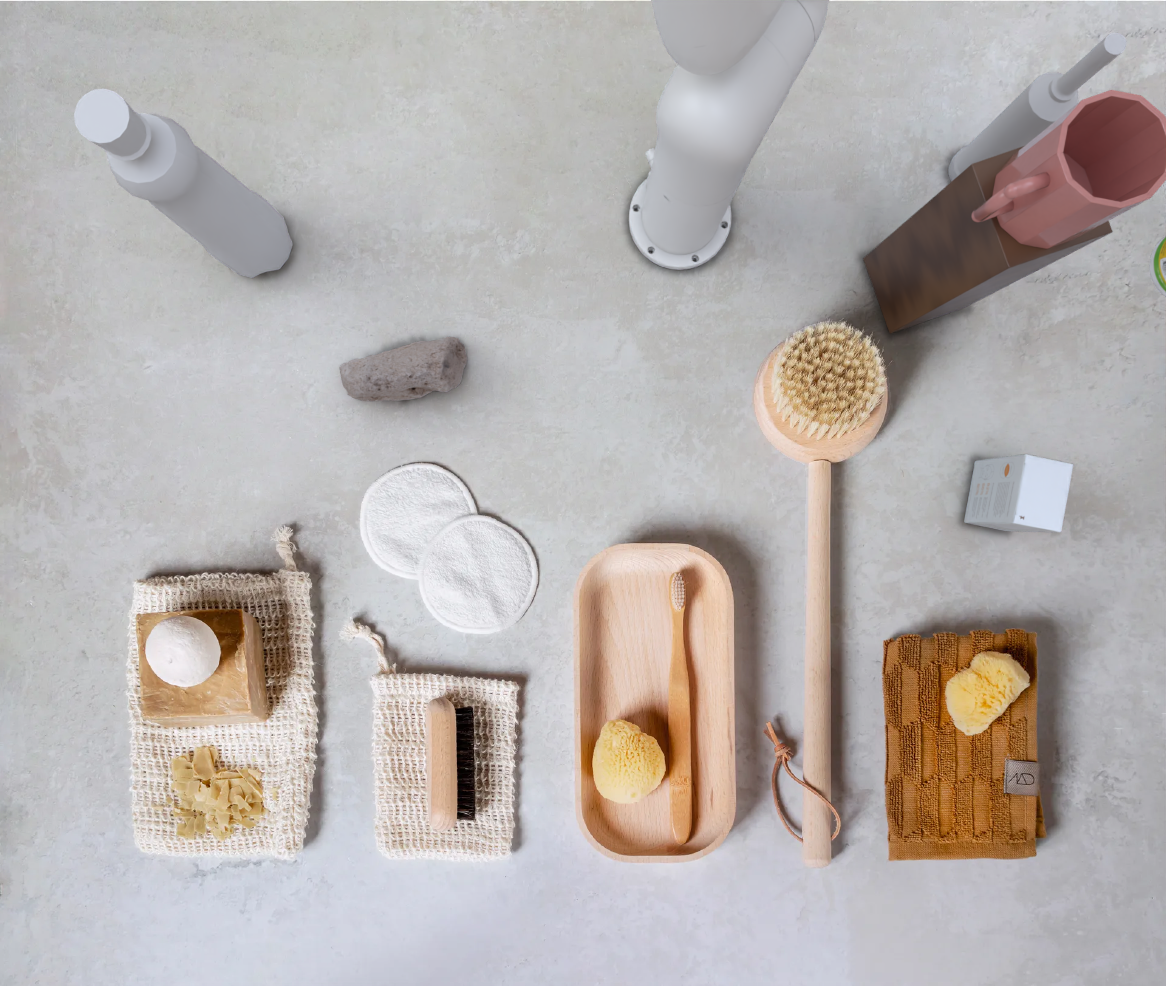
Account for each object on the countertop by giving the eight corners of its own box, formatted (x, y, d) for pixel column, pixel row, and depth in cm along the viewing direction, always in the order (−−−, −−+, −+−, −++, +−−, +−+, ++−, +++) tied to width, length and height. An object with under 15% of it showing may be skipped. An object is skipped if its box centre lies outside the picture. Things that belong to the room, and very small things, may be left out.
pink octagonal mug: (943, 179, 65) (1001, 127, 56) (1072, 134, 65) (1151, 75, 56) (976, 273, 65) (1040, 236, 56) (1106, 228, 65) (1190, 184, 56)
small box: (1005, 531, 90) (1062, 535, 79) (961, 522, 90) (1012, 524, 79) (1018, 468, 90) (1076, 463, 79) (973, 459, 90) (1026, 453, 79)
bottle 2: (995, 164, 90) (1154, 34, 66) (973, 199, 90) (1124, 82, 65) (960, 142, 91) (1106, 4, 66) (938, 177, 90) (1076, 51, 65)
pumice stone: (466, 337, 90) (452, 316, 80) (471, 398, 90) (458, 385, 80) (344, 348, 90) (315, 329, 80) (349, 409, 90) (321, 397, 80)
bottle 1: (284, 199, 90) (137, 46, 60) (307, 268, 90) (171, 150, 60) (214, 222, 90) (31, 80, 60) (237, 291, 90) (65, 185, 60)
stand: (862, 258, 90) (971, 163, 65) (938, 232, 90) (1075, 127, 65) (889, 333, 90) (1009, 268, 65) (965, 307, 90) (1113, 231, 65)
